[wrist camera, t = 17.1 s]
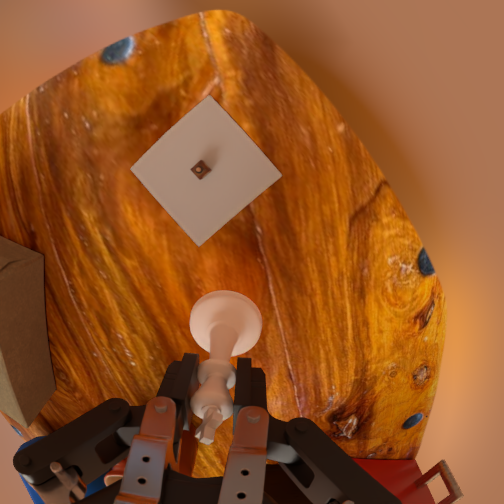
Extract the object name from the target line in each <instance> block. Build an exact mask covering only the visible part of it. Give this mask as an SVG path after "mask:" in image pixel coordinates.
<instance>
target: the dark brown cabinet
mask: <svg viewBox="0 0 504 504" xmlns="http://www.w3.org/2000/svg"><path fill="white" fill-rule="evenodd" d="M263 491H264V492H266V493H267V494H268V495H270V496H271V497H272V498H273V499H274V500H275V501H276V502H277V503H278V504H313V503H312V502H311V501H310V500H309V499H308V498H307V496H306V495H305V494H304V493H303V492H302V491H301V490H300V489H299V487H298V486H297V485H296V484H295V483H294V482H293V480H292V479H291V478H290V477H289V476H288V475H287V473H286V472H285V471H284V470H283V468H282V467H281V466H280V465H279V464H278V465H266V469H265V480H264V490H263Z"/></svg>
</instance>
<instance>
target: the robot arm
mask: <svg viewBox="0 0 504 504" xmlns="http://www.w3.org/2000/svg"><path fill="white" fill-rule="evenodd" d="M199 365H200V364H199V354H194V353H184V356H183V359H182V361H173V362H172V363H171V364H170V365H169V366H168V368H167V371H166V373H165V376H164V379H163V381H162V383H161V386H160V388H159V391H158V393H157V396H156V397H154V398H152V399H150V400H149V401H148V403H147V405H143V406H129V404H128V402H127V401H125V400H123V399H121V398H111V399H108V400H107V401H105V402H103V403H102V404H100V405H98V406H97V407H95V408H94V409H92V410H90V411H89V412H87V413H85V414H84V415H82V416H80V417H79V418H77V419H75V420H73V421H72V422H70V423H68V424H67V425H65V426H63V427H61V428H60V429H58V430H56V431H54V432H53V433H51V434H49V435H47V436H46V437H44V438H42V439H40V440H38V441H37V442H35V443H33V444H31V445H29V446H27V447H26V448H24V449H22V450H20V451H18V452H17V453H16V454H15V456H14V458H13V465H14V467H15V469H16V470H17V471H18V472H19V473H20V474H21V475H22V477H23V478H24V479H25V481H26V482H27V483H28V484H29V485H30V486H31V487H32V488H33V489H34V490H35V491H36V492H37V493H38V495H39V496H40V497H41V499H42V500H43V501H44V503H45V504H278V503H277V502H276V501H275V500H274V499H273V498H272V497H271V496H270V495H268V494H267V493H266V492H264V491H263V490H264V480H265V469H266V459H270V460H274V461H278V463H279V465H280V466H281V467H282V468H283V470H284V471H285V472H286V473H287V475H288V476H289V477H290V478H291V479H292V480H293V482H294V483H295V484H296V485H297V486H298V487H299V489H300V490H301V491H302V492H303V493H304V494H305V495H306V496H307V498H308V499H309V500H310V501H311V502H312V503H313V504H402V502H401V501H400V500H399V499H398V498H397V497H396V496H395V495H393V494H392V493H391V492H390V491H389V490H387V489H386V488H385V487H384V486H383V485H381V484H380V483H379V482H378V481H377V480H375V479H374V478H373V477H372V476H371V475H370V474H369V473H367V472H366V471H365V470H364V469H363V468H362V467H361V466H359V465H358V464H357V463H356V462H355V461H354V460H353V459H352V458H351V457H350V456H348V455H347V454H346V453H345V452H344V451H343V450H342V449H341V448H340V447H339V446H338V445H337V444H336V443H335V442H333V441H332V440H331V439H330V438H329V437H328V436H327V435H326V434H325V433H324V432H323V431H322V430H321V429H320V428H319V427H318V426H317V425H316V424H315V423H314V422H313V421H311V420H309V419H307V418H294V419H292V420H290V421H289V422H285V421H281V420H278V419H275V418H274V417H272V416H271V415H270V414H269V412H268V410H267V398H266V379H265V373H264V372H263V370H262V369H261V368H252V367H251V358H240V357H238V360H237V372H236V384H235V397H234V415H233V435H234V436H233V441H232V445H231V446H230V449H229V453H228V458H227V463H226V467H225V472H224V477H222V476H220V477H210V478H192V477H190V476H187V475H184V474H182V473H179V462H180V452H181V443H182V439H181V437H182V433H183V430H189V429H190V424H191V420H192V415H193V411H192V410H191V408H190V400H191V397H192V396H193V395H194V393H195V392H196V391H197V390H198V389H199V384H200V382H199V380H198V378H197V372H198V366H199ZM127 456H128V458H127V462H126V466H125V470H124V474H123V478H121V479H119V480H118V481H116V482H114V483H112V484H110V485H108V486H107V487H105V488H103V489H101V490H99V491H97V492H95V493H93V494H91V495H89V496H87V497H85V494H86V492H87V485H88V484H90V483H91V482H92V481H94V480H95V479H97V478H98V477H100V476H101V475H103V474H104V473H105V472H107V471H108V470H110V469H111V468H112V467H114V466H115V465H116V464H118V463H119V462H121V461H122V460H123V459H125V458H126V457H127ZM84 497H85V498H84Z"/></svg>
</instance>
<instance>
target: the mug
mask: <svg viewBox="0 0 504 504" xmlns="http://www.w3.org/2000/svg"><path fill="white" fill-rule="evenodd" d="M195 433H196V428H195V426H194V425H193V424H192V423H191V424H190V429H189V430H183V433H182V437H181V439H182V443H181V452H180V462H179V473H182V474H184V475H187V476H190V477H192V475H193V470H194V466H195V461H196V455H197V450H198V438H197V437H195ZM127 458H128V456H127V457H126V458H125V459H123V460H122V461H121V462H119V463H118V464H116V465H115V466H114V467H112V469H111V470H110V471H109V472H108V473H107V474H106V475H105V477H104V483H105V485H106V486H108V485H110V484H112V483H114V482H116V481H118V480H119V479H121V478H123V474H124V470H125V466H126V462H127Z"/></svg>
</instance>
